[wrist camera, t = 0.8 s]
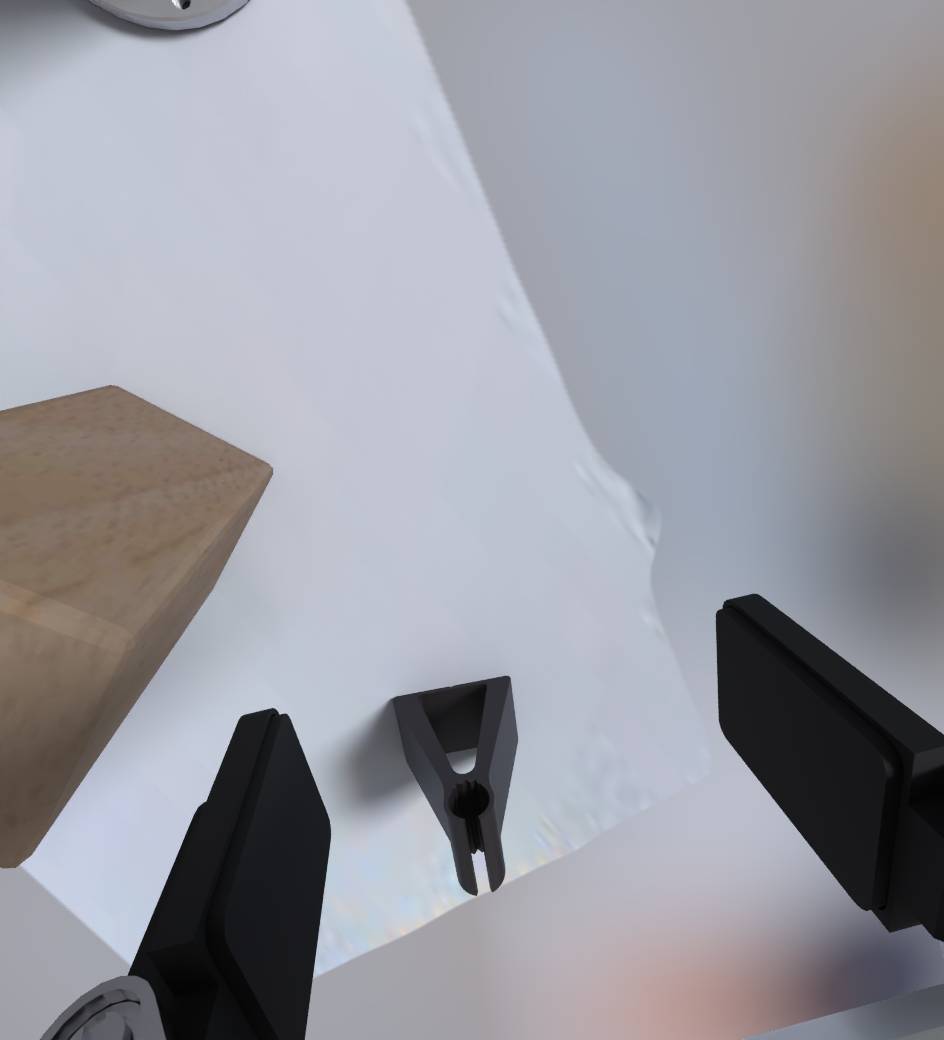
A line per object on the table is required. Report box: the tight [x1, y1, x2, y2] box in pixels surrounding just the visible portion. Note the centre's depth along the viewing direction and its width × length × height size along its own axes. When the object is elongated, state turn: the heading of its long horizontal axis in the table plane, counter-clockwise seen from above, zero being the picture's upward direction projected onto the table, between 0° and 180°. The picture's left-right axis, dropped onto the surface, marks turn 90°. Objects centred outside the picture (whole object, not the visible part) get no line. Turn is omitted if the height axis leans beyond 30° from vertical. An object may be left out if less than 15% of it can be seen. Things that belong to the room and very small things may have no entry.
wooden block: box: [0, 385, 273, 868], centre depth 24 cm, size 10×10×20 cm
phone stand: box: [393, 676, 518, 896], centre depth 37 cm, size 9×6×12 cm, turn 97°
